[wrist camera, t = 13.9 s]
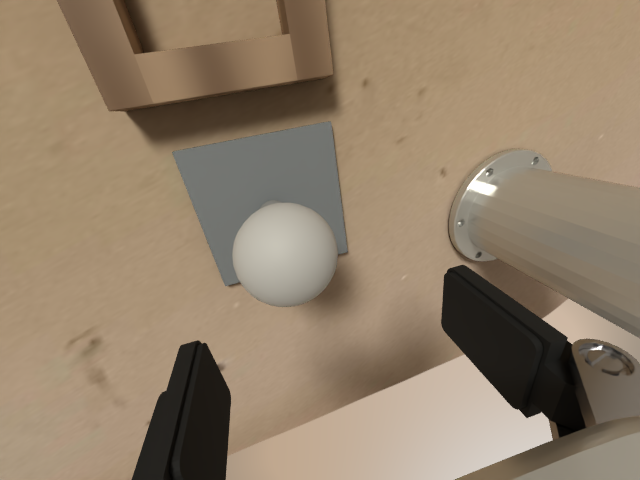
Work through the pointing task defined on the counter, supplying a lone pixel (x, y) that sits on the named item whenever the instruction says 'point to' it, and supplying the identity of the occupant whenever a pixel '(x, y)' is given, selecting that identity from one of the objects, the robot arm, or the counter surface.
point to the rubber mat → (261, 183)
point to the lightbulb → (285, 254)
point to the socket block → (196, 56)
